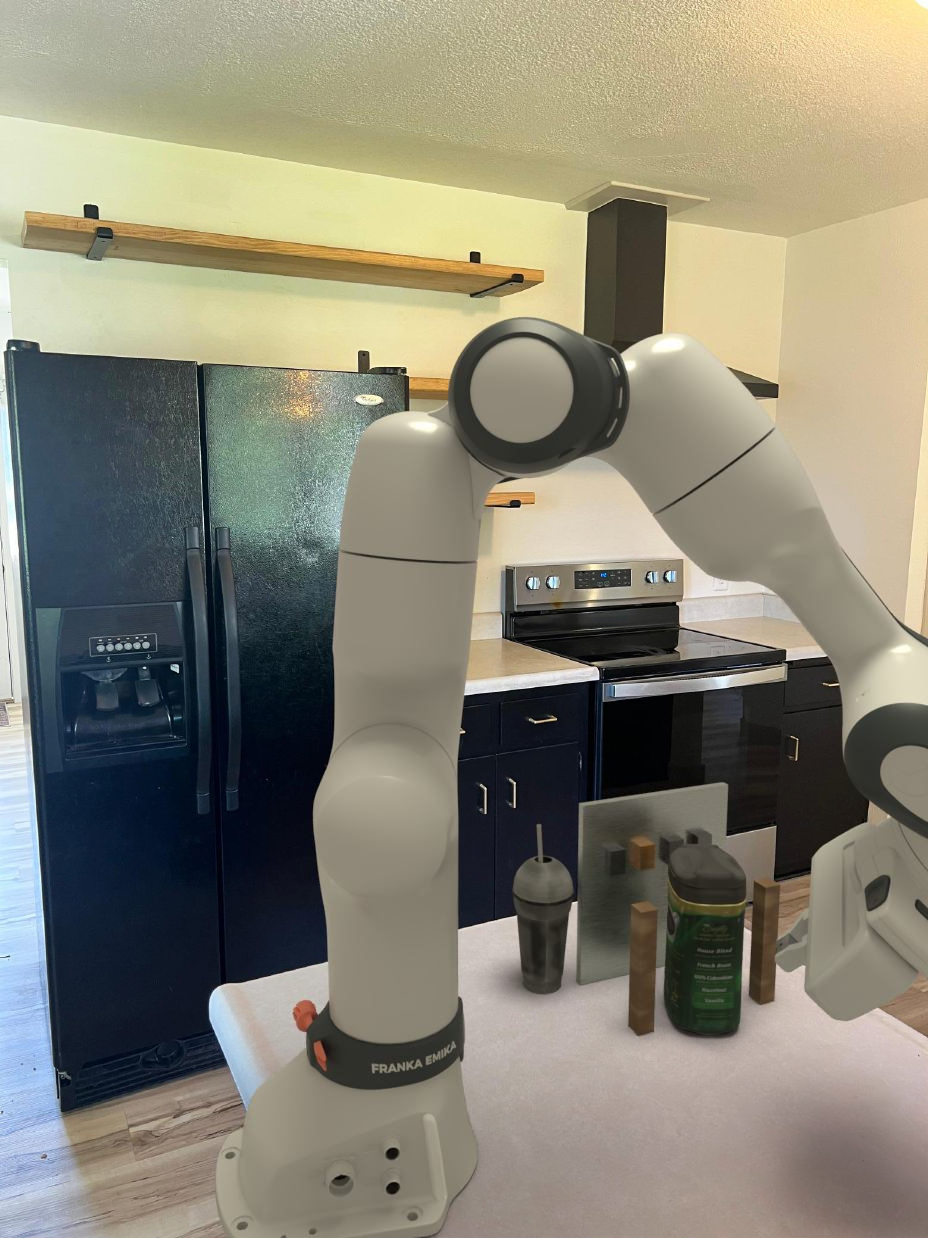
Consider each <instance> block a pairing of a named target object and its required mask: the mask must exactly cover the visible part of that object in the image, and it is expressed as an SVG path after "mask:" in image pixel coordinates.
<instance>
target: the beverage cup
mask: <svg viewBox="0 0 928 1238" xmlns="http://www.w3.org/2000/svg"><path fill="white" fill-rule="evenodd" d="M536 835H537V836H536V837H537V838H536V839H537V855H536V856H533V857H531V858H529V859H527V860H525V861H524V863H522V865H521V866H520V867H518V869H517V871H516V873H515V875H514V879H513V885H512V889H511V893H512V895H513V904H514V908H515V910H516V920H517V932H518V944H519V946H518V947H519V958H520V969H521V974H522V979H523V980H522V982H523V983H522V985H523V986H524V988H525V989H526V990H527V991H529V992H531V993H534V994H539V995H547V994H552V993H555V992H558V990H560V988H561V987H562V979H563V975H564V967H565V955H566V948H567V939H568V937H567V936H568V928H569V927H568V926H569V917H570V913H571V910H572V906H573V905H572V904H573V900H574V899H573V898H574V897H575V889H574V886H573V884H574V883H573V879H572V876H571V874H570V872H569V870H568V869H567V867H566V866H565V865H564V864H563V863H562V862H561V861H560V860H559V859H556V858H555V857H553V856H548V855H543V854H544V853H543V840H542V839H543V838H542V837H543V836H542V824H540V823H538V824H536Z"/></svg>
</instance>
